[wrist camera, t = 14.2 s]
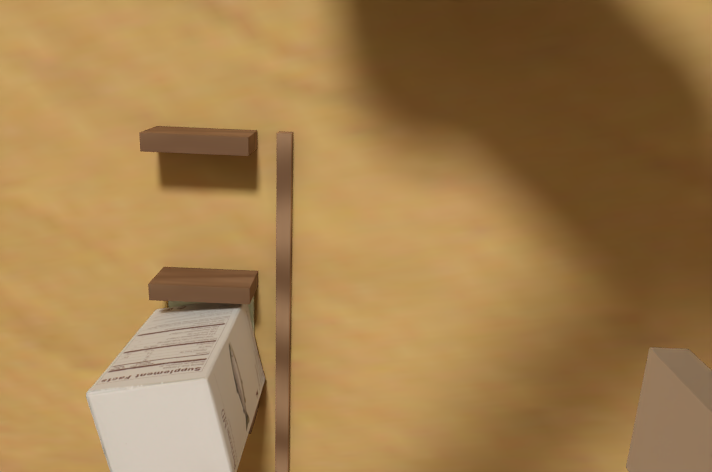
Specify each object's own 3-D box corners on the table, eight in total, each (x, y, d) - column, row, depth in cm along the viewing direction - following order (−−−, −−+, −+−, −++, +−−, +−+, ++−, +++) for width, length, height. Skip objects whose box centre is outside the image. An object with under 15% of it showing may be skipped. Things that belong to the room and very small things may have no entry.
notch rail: (156, 126, 44) (139, 132, 40) (293, 131, 43) (287, 138, 40) (176, 512, 53) (163, 543, 50) (288, 516, 53) (283, 548, 50)
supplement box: (268, 379, 49) (236, 489, 37) (175, 391, 49) (114, 503, 37) (249, 292, 47) (209, 378, 35) (153, 305, 47) (80, 394, 35)
